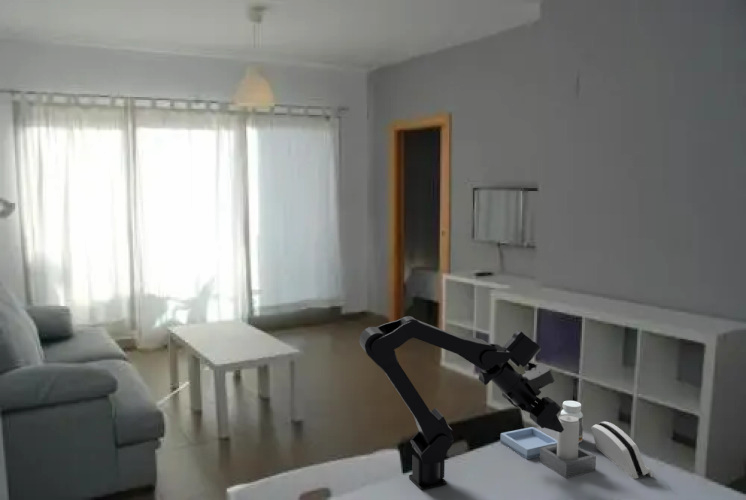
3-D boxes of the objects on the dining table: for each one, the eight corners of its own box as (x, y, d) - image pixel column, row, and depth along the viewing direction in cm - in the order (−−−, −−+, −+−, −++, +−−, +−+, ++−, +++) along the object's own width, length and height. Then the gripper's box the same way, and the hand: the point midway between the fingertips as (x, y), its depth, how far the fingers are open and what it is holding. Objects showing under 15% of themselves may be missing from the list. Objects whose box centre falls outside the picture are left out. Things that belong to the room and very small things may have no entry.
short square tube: (565, 478, 133) (566, 463, 132) (539, 461, 141) (539, 448, 141) (595, 470, 136) (596, 456, 136) (568, 455, 145) (568, 441, 144)
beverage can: (556, 469, 137) (558, 420, 136) (556, 460, 142) (557, 413, 140) (578, 472, 136) (579, 422, 134) (577, 463, 140) (579, 415, 139)
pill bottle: (581, 436, 156) (582, 400, 155) (583, 445, 150) (584, 408, 149) (559, 434, 157) (560, 398, 156) (560, 442, 152) (561, 406, 151)
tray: (526, 459, 142) (527, 449, 142) (500, 442, 152) (500, 433, 152) (560, 451, 146) (560, 442, 146) (532, 435, 156) (532, 426, 156)
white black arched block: (654, 477, 133) (642, 439, 132) (635, 485, 133) (623, 447, 131) (614, 446, 150) (603, 411, 148) (597, 453, 149) (586, 418, 148)
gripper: (553, 367, 125) (597, 412, 128) (514, 345, 143) (554, 385, 146) (519, 405, 124) (564, 450, 127) (484, 378, 142) (524, 418, 145)
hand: (551, 423), depth 137 cm, fingers open, 9 cm apart
